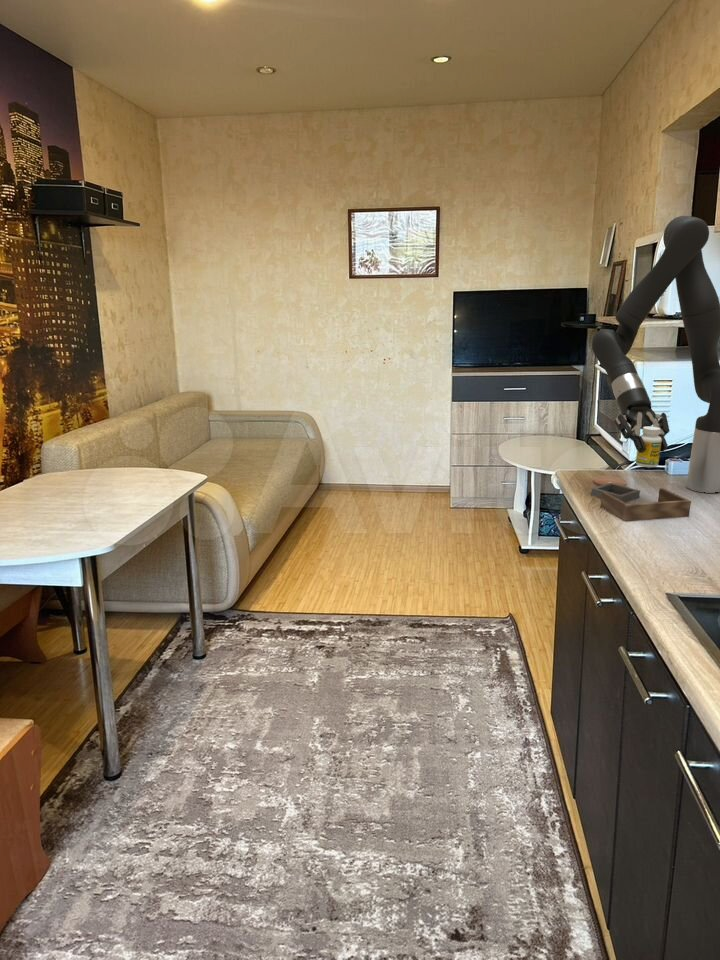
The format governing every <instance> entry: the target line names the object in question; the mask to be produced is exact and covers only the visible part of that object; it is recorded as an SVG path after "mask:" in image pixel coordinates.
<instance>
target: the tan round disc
mask: <svg viewBox="0 0 720 960" xmlns="http://www.w3.org/2000/svg"><path fill="white" fill-rule="evenodd" d="M627 482H628V481H627V479H625V478H622V477H619V476H613V475H597V476H594V477H593V483H594V484H595V485H597V486H601V485H605V484H608V483H613V484H617V485H621V486H625V487H627V484H628V483H627Z"/></svg>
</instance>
